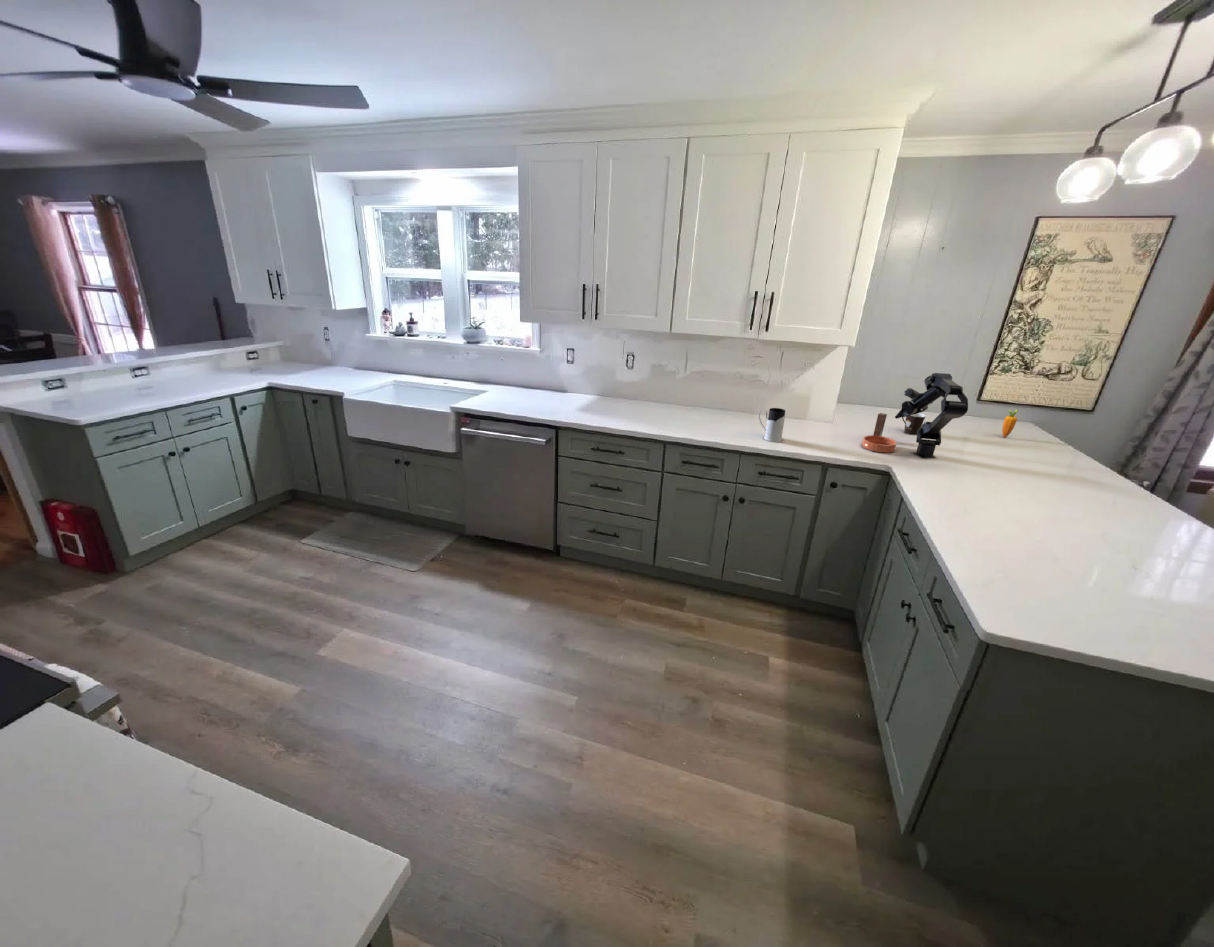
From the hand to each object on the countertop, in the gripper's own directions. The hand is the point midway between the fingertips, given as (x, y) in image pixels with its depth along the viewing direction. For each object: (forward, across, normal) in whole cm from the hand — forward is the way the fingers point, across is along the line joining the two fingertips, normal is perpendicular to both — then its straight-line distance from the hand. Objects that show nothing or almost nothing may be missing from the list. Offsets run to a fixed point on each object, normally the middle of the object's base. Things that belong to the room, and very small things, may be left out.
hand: (899, 417), depth 238 cm
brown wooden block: (+15, 0, +3) cm, 15 cm away
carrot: (-14, -57, +30) cm, 66 cm away
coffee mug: (+10, -27, +6) cm, 29 cm away
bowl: (+12, +11, +8) cm, 19 cm away
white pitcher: (+41, +40, -22) cm, 61 cm away
